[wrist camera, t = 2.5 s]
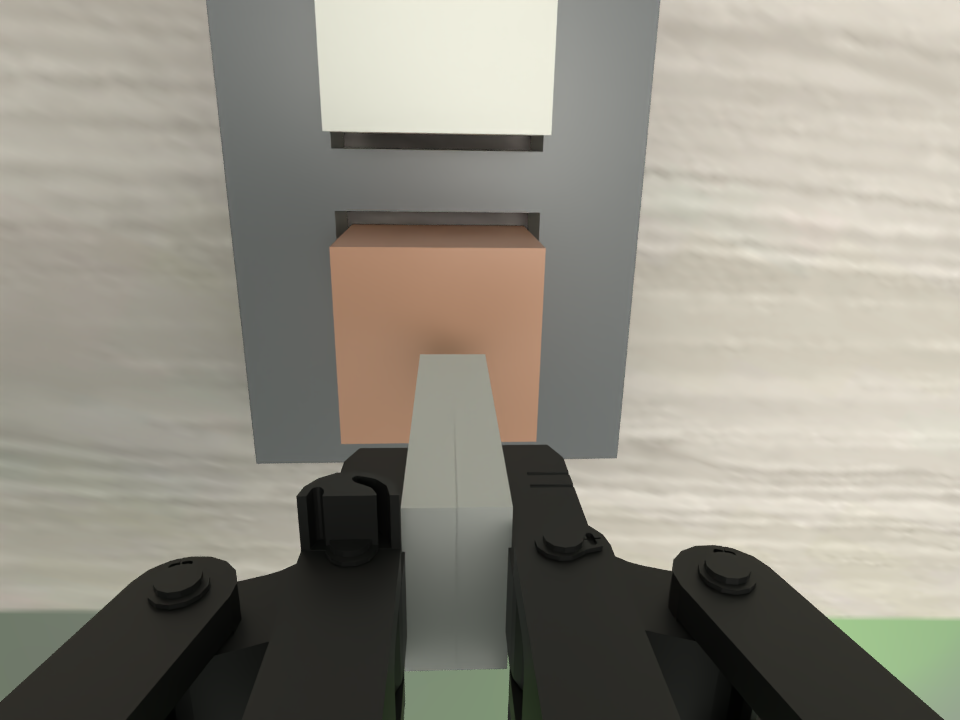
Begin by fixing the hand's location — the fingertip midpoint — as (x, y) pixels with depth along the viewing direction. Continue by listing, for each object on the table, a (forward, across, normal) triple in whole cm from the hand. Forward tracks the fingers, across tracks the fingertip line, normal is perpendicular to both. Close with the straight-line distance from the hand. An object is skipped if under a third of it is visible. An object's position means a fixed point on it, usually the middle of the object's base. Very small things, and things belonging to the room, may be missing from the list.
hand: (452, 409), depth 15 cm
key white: (+9, 0, +9) cm, 13 cm away
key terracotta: (+9, 0, 0) cm, 9 cm away
